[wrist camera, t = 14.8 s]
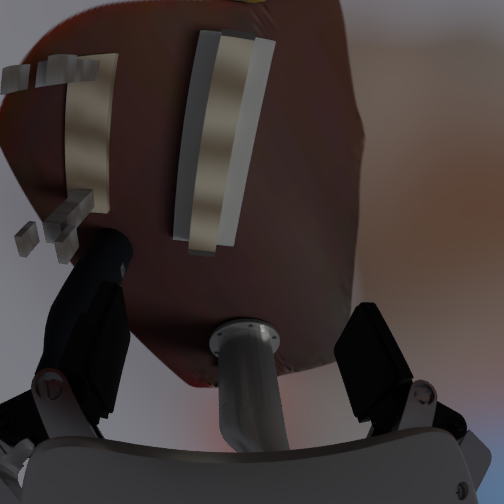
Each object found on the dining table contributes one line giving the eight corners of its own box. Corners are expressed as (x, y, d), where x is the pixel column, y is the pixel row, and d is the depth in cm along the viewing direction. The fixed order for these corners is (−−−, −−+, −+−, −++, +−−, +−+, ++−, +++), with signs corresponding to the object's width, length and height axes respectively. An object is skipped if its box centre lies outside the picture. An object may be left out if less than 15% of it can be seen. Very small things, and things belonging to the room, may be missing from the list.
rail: (215, 243, 36) (214, 257, 34) (190, 240, 36) (188, 254, 33) (253, 38, 23) (256, 33, 20) (223, 34, 22) (222, 28, 20)
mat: (233, 243, 37) (233, 246, 37) (173, 237, 36) (173, 239, 36) (275, 42, 24) (275, 41, 23) (201, 31, 22) (200, 30, 22)
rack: (111, 210, 33) (68, 271, 22) (70, 206, 32) (21, 262, 21) (120, 53, 22) (60, 44, 12) (73, 58, 21) (3, 59, 10)
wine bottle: (85, 241, 35) (-9, 436, 10) (113, 220, 34) (10, 442, 9) (112, 272, 38) (49, 468, 14) (142, 254, 37) (81, 477, 12)
